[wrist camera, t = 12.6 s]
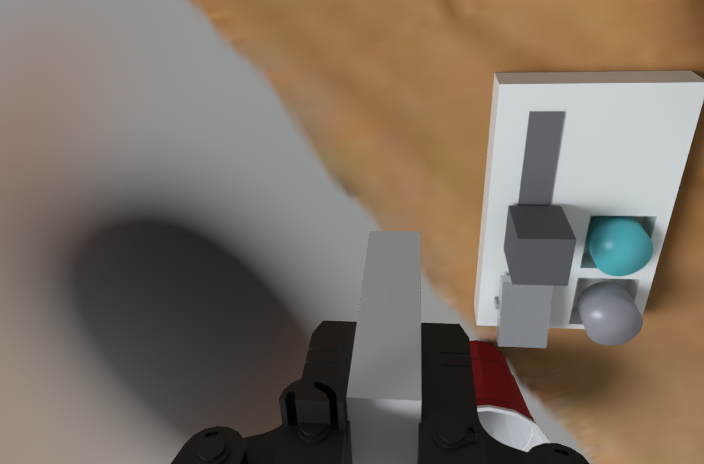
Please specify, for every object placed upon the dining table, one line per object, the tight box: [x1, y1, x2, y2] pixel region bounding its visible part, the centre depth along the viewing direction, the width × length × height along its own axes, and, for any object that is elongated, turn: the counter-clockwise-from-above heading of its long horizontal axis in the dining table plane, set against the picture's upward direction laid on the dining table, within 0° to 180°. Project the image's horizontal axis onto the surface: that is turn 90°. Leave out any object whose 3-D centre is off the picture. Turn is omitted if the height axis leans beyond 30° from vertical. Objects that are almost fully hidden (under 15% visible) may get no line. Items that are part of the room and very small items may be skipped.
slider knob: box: [504, 205, 577, 286], centre depth 43 cm, size 4×4×5 cm
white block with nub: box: [496, 275, 553, 348], centre depth 48 cm, size 6×4×1 cm, turn 2°
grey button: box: [577, 281, 643, 346], centre depth 48 cm, size 4×4×3 cm
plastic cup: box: [469, 340, 550, 452], centre depth 52 cm, size 11×11×12 cm
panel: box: [474, 71, 704, 329], centre depth 46 cm, size 22×14×4 cm, turn 2°
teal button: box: [585, 216, 653, 276], centre depth 46 cm, size 4×4×3 cm
